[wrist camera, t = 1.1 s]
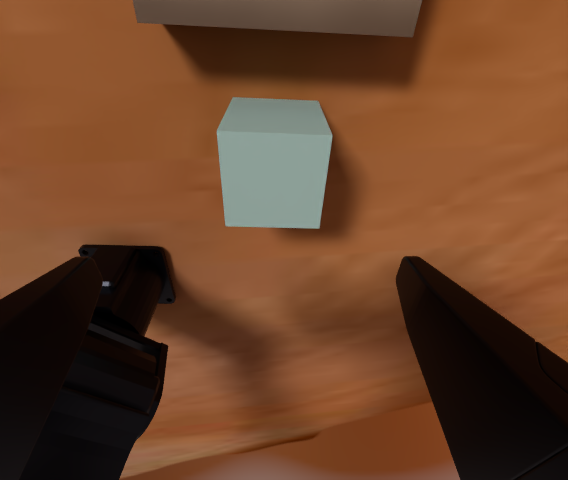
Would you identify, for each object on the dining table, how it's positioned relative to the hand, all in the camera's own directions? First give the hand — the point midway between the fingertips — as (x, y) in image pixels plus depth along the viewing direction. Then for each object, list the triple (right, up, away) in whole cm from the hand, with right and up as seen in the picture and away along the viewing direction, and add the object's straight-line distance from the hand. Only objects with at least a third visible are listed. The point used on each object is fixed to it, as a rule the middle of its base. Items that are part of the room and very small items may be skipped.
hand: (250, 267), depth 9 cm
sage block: (0, +7, +10) cm, 13 cm away
